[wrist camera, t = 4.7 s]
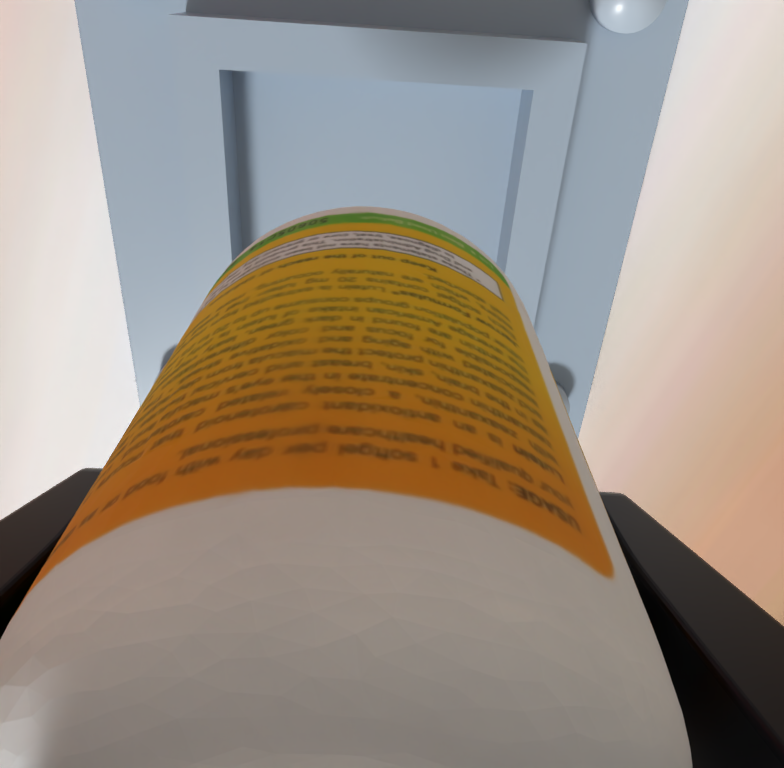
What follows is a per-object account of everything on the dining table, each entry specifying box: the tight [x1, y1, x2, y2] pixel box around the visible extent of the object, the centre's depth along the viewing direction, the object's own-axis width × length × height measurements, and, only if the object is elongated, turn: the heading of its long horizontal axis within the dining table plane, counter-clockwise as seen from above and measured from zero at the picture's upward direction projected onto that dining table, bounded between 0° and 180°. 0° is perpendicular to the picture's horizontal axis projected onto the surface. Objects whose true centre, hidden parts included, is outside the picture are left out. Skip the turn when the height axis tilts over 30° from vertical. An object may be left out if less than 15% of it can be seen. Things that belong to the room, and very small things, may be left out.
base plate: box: [74, 0, 689, 439], centre depth 18 cm, size 14×14×3 cm
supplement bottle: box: [0, 206, 693, 768], centre depth 7 cm, size 5×5×10 cm
